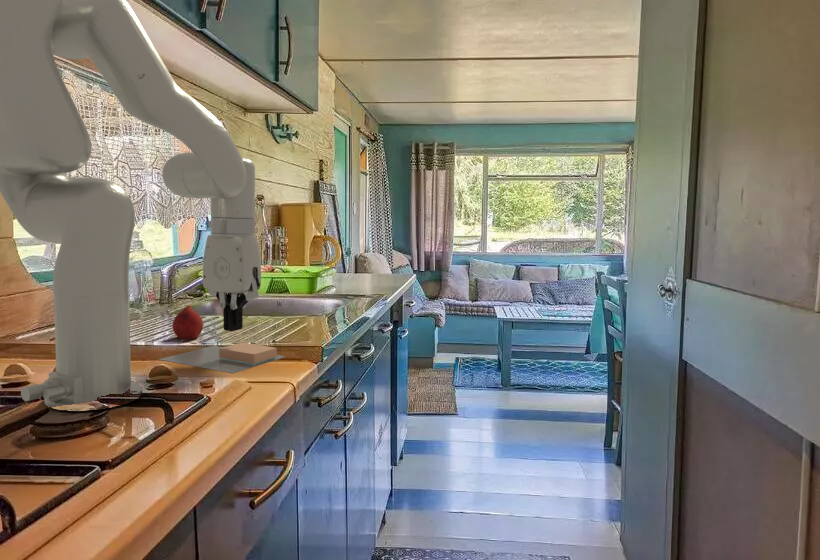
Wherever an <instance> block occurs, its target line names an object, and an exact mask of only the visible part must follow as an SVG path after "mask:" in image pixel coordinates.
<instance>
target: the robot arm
mask: <svg viewBox="0 0 820 560" xmlns="http://www.w3.org/2000/svg"><path fill="white" fill-rule="evenodd" d="M55 56H56V57H60V58H63V59H69V60H83V59H84V60H85V59H91V61H92V63H93V64H94V65H95V66H96V68H97V70H98V71H99V73H100V74H101V76H102V78H103V79H104V81H105V82H106V83H107V85H108V87H109V88H110V90H111V91H112V92H113V94H114V96H115V97H116V99H117V100H118V102H119V103H120V105H121V106H122V108H123V109H124V111H125V112H126V113H128V115H130V116H132V117H133V118H136V119H137V120H139V121H141V122H142V123H145V124H147V125H150V126H153V127H155V128H157V129H159V130H162V131H164V132H165V133H167V134H169V135H171V136H173V137H174V138H176V139H177V140H178V141H180V142H182V143H183V144H184V145H185V146H186V147H187V148H188V149H189V150H190V151H191V152H182V153H178V154H175V155H173V156H171V157H170V158H169V159H168V160H167V161H166V162H165V163H164V165H163V169H162V179H163V183H164V184H165V186H166V187H167V189H168V190H169V191H170V192H171V193H173V194H175V195H176V196H179V197H181V198H187V199H210V221H208V227H209V229H210V234H208V235H207V237H206V241H205V247H204V253H203V264H202V286H203V288H204V289H206V290H208V295H210V296H212V297H214V298H216V299H217V300H218V301H219V304H220V305H219V306H220V308H221V309H223V331H225V332H226V331H228V332H235V331H238V330H242V329H243V326H244V323H243V322H244V321H243V320H244V319H243V318H244V317H243V315H244V314H243V309H244V308H246V306H247V304H248V303H249V301H254V300H258V299H259V298H260V296H259V290H260V288H261V285H262V284H261V283H262V263H261V253H260V247H259V242H258V237H257V236H255V235H256V234H255V233H256V230H255V229H256V211H255V207H256V167H255V164H254V162H253V160H251V159H249V158H244V157H242V155H241V153H240V151H239V150H238V147H237V146H236V144H235V141H234V140H233V138H232V137H231V135H230V133H229V132H228V130H227V129H226V128H225V126H224V125H223V124H222V122H220V121H219V119H218V118H217V117H216V116H215V115H214V114H212V112H211V111H209V110H208V109H207V108H205V107H204V106H203V105H202V104H201V103H200V102H198V101H197V100H196V99H195V98H194V97H192V96H191V95H190V94H188V93H187V92H185V91H184V90H183V89H182V88H181V87H180V86H179V85H178V84H177V83H176V81H175V80H174V79H173V76H172V75H171V72H170V71H169V69H168V68H167V66H166V65H165V63H164V61H163V59H162V57H161V56H160V54H159V53H158V51H157V49H156V48H155V46H154V44H153V42H152V41H151V39H150V37H149V36H148V34H147V31H146V30H145V29H144V27H143V24H142V23H141V21H140V19H139V18H138V15H136V13H135V11H134V10H133V8H132V6H131V5H130V4H129V2H128V1H127V0H0V194H1V196H2V197H3V199H4V201H5V202H6V204H7V206H8V208H9V210H10V211H11V213H12V215H13V216H14V217H15V219H16V221H17V222H18V223H19V225H20V226H21V227H22V229H23V230H24V231H25V232H27V233H28V234H29V235H30V236H31V237H33V238H35V239H37V240H39V241H42V242H46V243H51V244H60V245H59V249H58V253H57V256H56V259H55V263H54V268H53V277H52V281H53V283H52V284H53V285H52V286H53V287H52V288H53V289H52V290H53V292H52V293H53V307H54V309H53V310H54V311H53V312H54V339H55V341H54V342H55V371H51V372H48V379H45V380H44V381H43V383H39V384H38V383H36V384H31V385H27V386H23V387H22V388H21V390H20V396H21V398H22V400H23V401H24V402H30V401H33V400H36V399H41V398H43V399H44V405H45V406H46V407H47V406H48V407H47V408H49V407H56V406H62V405H72V404H80V403H86V402H92V401H95V400H97V398H98V397H101V396H106V395H109V394H123V393H125V392H126V391H127V390H128V389H130V393H132V394H140V393H142V394H143V386H142V385H141V384H140V383H138V382H134V381H132V377H131V376H132V375H131V367H132V364H131V324H130V323H131V321H130V320H131V318H130V317H131V316H130V283H129V282H130V281H129V280H130V279H129V273H130V272H129V271H130V270H129V269H130V253H131V252H130V251H131V248H132V247H131V246H132V245H131V244H132V240H133V235H134V230H135V222H136V211H135V207H134V204H133V201H132V199H131V196H130V195H129V194H128V193H127V191H126V190H125V189H124V188H122V187H121V186H120V185H118V184H117V183H115V182H113V181H111V180H107V179H103V178H100V177H99V178H98V177H92V176H91V177H89V176H88V177H85V176H84V177H80V176H79V177H76V176H75V177H73V176H72V177H70V176H69V177H68V175H67V174H66V173H72V172H74V171H77V170H79V169H81V168H82V167H83V166H85V165H86V164H87V163H88V161H89V160H90V159H91V156H92V151H93V150H92V148H93V146H92V140H91V138H90V134H89V131H88V129H87V127H86V125H85V123H84V121H83V118H82V117H81V115H80V113H79V111H78V108H77V107H76V104H75V102H74V100H73V98H72V96H71V94H70V92H69V89H68V88H67V85H66V84H65V81H64V79H63V78H62V77H63V76H62V75H61V72H60V70H59V68H58V64H57V63H56V59H55Z"/></svg>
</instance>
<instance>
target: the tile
mask: <svg viewBox="0 0 820 560" xmlns="http://www.w3.org/2000/svg"><path fill="white" fill-rule="evenodd" d="M277 351H278V348H277V347H272V346H268V345H261V344H253V343H247V342H239V343H235V344H232V345H231V344H230V345H227V346H225V347H223V348H219V357H220V358H221V359H223V360H229V361H235V362H240V363H246V364H252V365H255V364H258V363H262V362H265V361H268V360H271V359H275V357H277V355H278V353H277Z"/></svg>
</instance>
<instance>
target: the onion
mask: <svg viewBox="0 0 820 560" xmlns="http://www.w3.org/2000/svg"><path fill="white" fill-rule="evenodd" d="M172 321H173V322H172V331H173V333H174V334H175V336H176V337H177V338H178V339H180V340H194V339H197V338H198V337H199V336H200V335H201V333H202V331H203V328H204V321H203V317H201V315H200V314H199V313H198V312H197V311H195V310H193V306H192V304H186V306H185V307H184V308H183V309H182V310H181V311H179V312H178V313H177V315H176V316H175V317H174V320H172Z"/></svg>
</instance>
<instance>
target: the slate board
mask: <svg viewBox="0 0 820 560" xmlns="http://www.w3.org/2000/svg"><path fill="white" fill-rule="evenodd" d="M219 348H223V347H218V346H214V345H210V346H207V347H203V348H199V349H195V350H191V351H187V352H183V353H178V354H174V355H171V356H167V357H163V358H158V359H157V360H159V361H164V362H169V363H174V364H179V365H186V366H190V367H197V368H201V369H207V370H212V371H217V372H222V373H228V374H232V375H233V374H237V373H239V372H242V371H243V372H244V371H245V370H249V369H252V368H254V367H258V366H261V365H266V364H268V363H271V362H274V361H277V360H280V359H283V358H286V357H287V356H284V355H279V354H277V357H275V359H271V360H268V361H265V362H262V363H258V364H255V365H252V364H246V363H240V362H235V361H229V360H223V359H221V358H220V357H219Z"/></svg>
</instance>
